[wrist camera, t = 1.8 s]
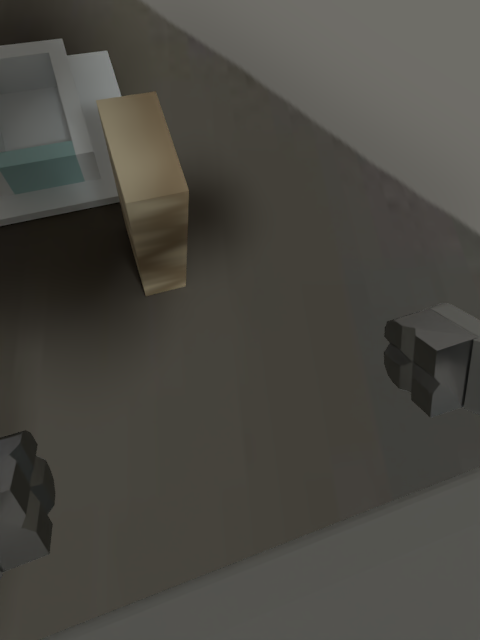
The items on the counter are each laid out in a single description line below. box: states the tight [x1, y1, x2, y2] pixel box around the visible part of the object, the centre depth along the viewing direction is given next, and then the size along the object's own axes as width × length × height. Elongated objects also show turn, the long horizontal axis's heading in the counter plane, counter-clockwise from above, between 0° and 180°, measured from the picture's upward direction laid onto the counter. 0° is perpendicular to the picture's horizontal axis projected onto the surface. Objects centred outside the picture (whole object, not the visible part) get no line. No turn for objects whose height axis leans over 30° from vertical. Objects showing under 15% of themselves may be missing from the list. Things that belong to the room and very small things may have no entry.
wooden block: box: [96, 91, 189, 296], centre depth 26 cm, size 3×6×12 cm, turn 18°
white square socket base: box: [0, 39, 121, 226], centre depth 32 cm, size 14×14×4 cm
